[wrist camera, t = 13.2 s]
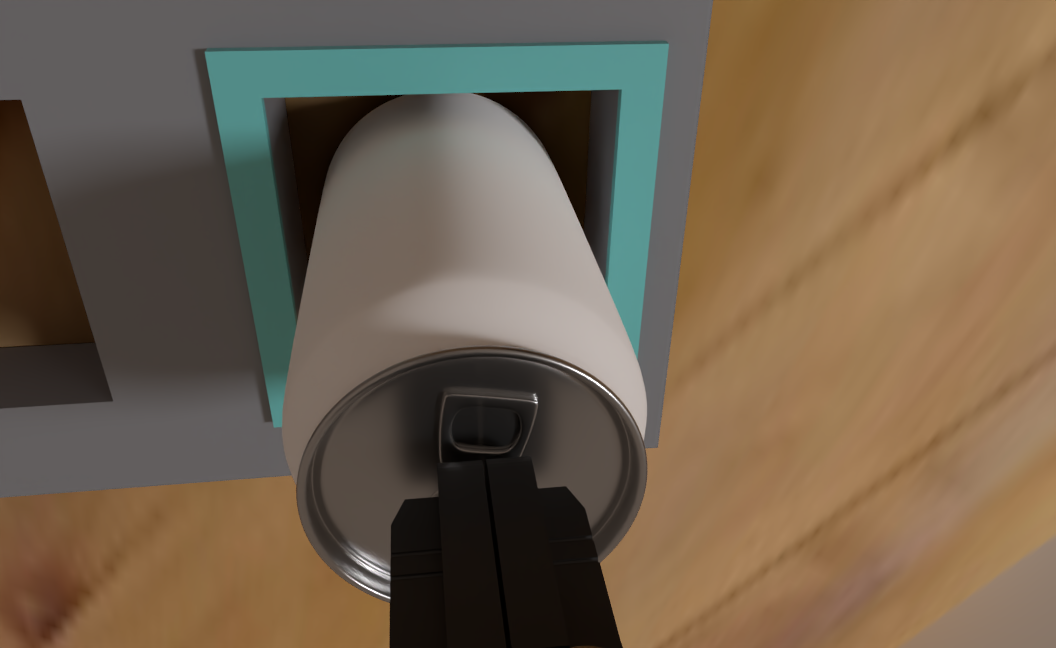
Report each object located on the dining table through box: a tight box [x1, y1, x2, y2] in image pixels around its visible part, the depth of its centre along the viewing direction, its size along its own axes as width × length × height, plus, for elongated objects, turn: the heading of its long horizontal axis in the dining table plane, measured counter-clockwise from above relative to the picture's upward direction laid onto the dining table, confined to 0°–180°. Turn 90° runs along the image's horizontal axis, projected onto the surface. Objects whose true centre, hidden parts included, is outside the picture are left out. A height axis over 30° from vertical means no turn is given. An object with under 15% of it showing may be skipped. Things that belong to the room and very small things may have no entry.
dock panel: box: [0, 0, 713, 497], centre depth 21 cm, size 14×25×3 cm, turn 89°
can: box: [282, 93, 647, 603], centre depth 18 cm, size 6×6×12 cm
